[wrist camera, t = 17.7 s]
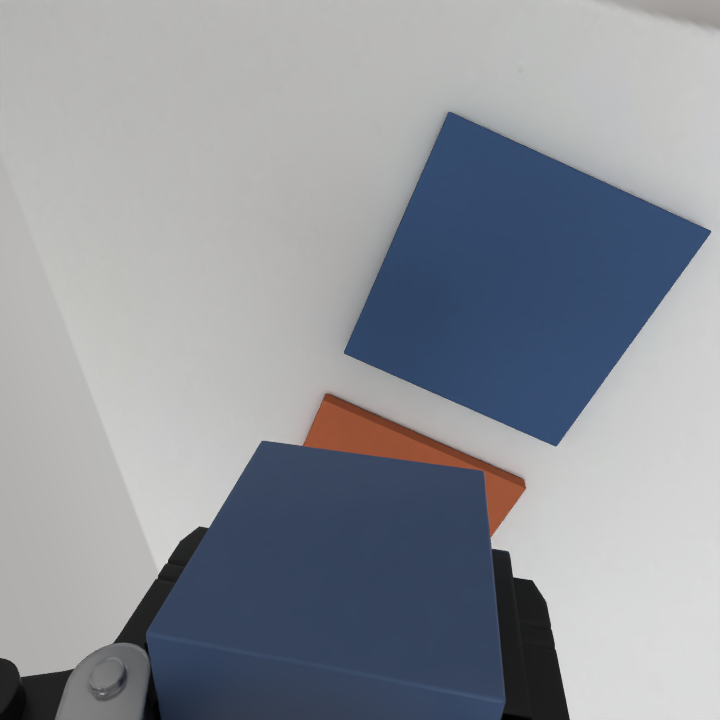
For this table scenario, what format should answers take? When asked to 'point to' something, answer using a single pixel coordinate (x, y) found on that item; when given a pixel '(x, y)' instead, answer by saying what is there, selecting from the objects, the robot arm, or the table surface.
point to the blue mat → (517, 281)
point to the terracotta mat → (405, 450)
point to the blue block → (336, 596)
